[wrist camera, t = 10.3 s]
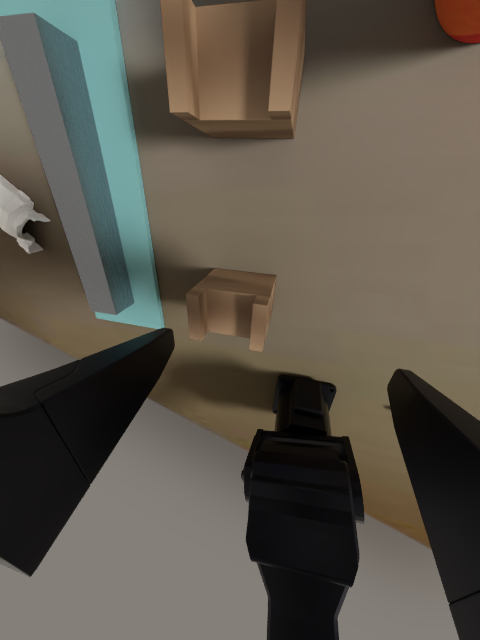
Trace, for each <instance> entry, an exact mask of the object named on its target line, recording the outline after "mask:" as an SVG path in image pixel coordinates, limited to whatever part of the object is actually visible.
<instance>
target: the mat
mask: <svg viewBox="0 0 480 640" xmlns="http://www.w3.org/2000/svg"><path fill="white" fill-rule="evenodd" d="M33 12H34V13H35V14H37V15H38V16H40V17H41V18H43V19H44V20H46V21H47V22H49V23H50V24H52V25H53V26H55V27H56V28H58V29H59V30H61V31H62V32H64V33H65V34H67V35H68V36H70V37H71V38H73V39H74V40H76V41H77V42H78V46H79V51H80V56H81V60H82V65H83V69H84V74H85V78H86V83H87V88H88V92H89V97H90V101H91V106H92V110H93V115H94V120H95V124H96V129H97V133H98V138H99V142H100V147H101V152H102V156H103V161H104V165H105V170H106V174H107V179H108V184H109V188H110V193H111V197H112V202H113V207H114V211H115V216H116V220H117V225H118V229H119V234H120V239H121V243H122V248H123V252H124V257H125V261H126V266H127V271H128V275H129V280H130V284H131V289H132V293H133V298H134V304H132V305H131V306H129V307H128V308H126V309H125V310H123V311H122V312H120V313H119V314H117V315H112V314H106V313H100V312H95V314H96V317H97V318H98V319H104V320H110V321H116V322H121V323H127V324H133V325H138V326H144V327H150V328H155V329H161V328H164V327H165V326H164V320H163V313H162V307H161V300H160V294H159V287H158V281H157V274H156V267H155V261H154V254H153V248H152V241H151V235H150V228H149V221H148V215H147V208H146V202H145V195H144V189H143V182H142V176H141V169H140V162H139V156H138V149H137V143H136V136H135V130H134V123H133V116H132V110H131V103H130V97H129V90H128V84H127V77H126V70H125V64H124V57H123V51H122V44H121V38H120V31H119V25H118V18H117V11H116V5H115V0H0V16H7V15H16V14H24V13H33Z"/></svg>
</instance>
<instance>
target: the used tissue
mask: <svg viewBox="0 0 480 640" xmlns="http://www.w3.org/2000/svg"><path fill="white" fill-rule="evenodd" d="M33 207H34V203H33V202H32V201H31V200H30V198H29V197H28V196H27V195H26V194H25V193H23V192H22V191H21V190H18V189H17V188H16V187H14V186H13V185H12V184H11V183H10V182H8V181H7V180H6V179H5V178H4V177H2V176H1V175H0V228H1V229H2V230H3V231H5V232H6V233H7V234H9V235H11V236H13V237H14V238H17V242H18V243H19V245H20V246H21V247H22V248H23V249H24V250H25V251H26V252H27V253H28V254H31V253H36V252H38V251H42V250H44V249H43V248H42V247H41V246H39V245H38V244H37V243H35V238H33V237H32V236H31V235H30V234H28V233H25V234H22V229H23V227H24V225H25V223H26V222H27V221H28V220H30V219H31V220H32V221H34V222H35V221H43V222H48V221H50V220H49V219H48V218H47V217H45V216H44V215H43V214H41V213H37V212H36V211H35V210H33Z"/></svg>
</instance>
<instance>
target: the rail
mask: <svg viewBox="0 0 480 640" xmlns="http://www.w3.org/2000/svg"><path fill="white" fill-rule="evenodd" d="M0 39H1V42H2V45H3V48H4V51H5V54H6V57H7V60H8V63H9V66H10V69H11V72H12V75H13V78H14V81H15V84H16V87H17V90H18V93H19V96H20V99H21V102H22V105H23V108H24V111H25V114H26V117H27V120H28V123H29V126H30V129H31V132H32V135H33V138H34V141H35V144H36V147H37V150H38V153H39V156H40V159H41V162H42V165H43V168H44V171H45V174H46V177H47V180H48V183H49V186H50V189H51V192H52V195H53V198H54V201H55V204H56V207H57V210H58V213H59V216H60V219H61V222H62V225H63V228H64V231H65V234H66V237H67V240H68V243H69V246H70V249H71V252H72V255H73V258H74V261H75V264H76V267H77V270H78V273H79V276H80V279H81V282H82V285H83V288H84V291H85V294H86V297H87V300H88V303H89V306H90V309H91V311H94V312H100V313H106V314H112V315H117V314H119V313H120V312H122V311H123V310H125V309H126V308H128V307H129V306H131V305H132V304H134V298H133V293H132V289H131V284H130V280H129V275H128V271H127V266H126V261H125V257H124V252H123V248H122V243H121V239H120V234H119V229H118V225H117V220H116V216H115V211H114V207H113V202H112V197H111V193H110V188H109V184H108V179H107V174H106V170H105V165H104V161H103V156H102V152H101V147H100V142H99V138H98V133H97V129H96V124H95V120H94V115H93V110H92V106H91V101H90V97H89V92H88V88H87V83H86V78H85V74H84V69H83V65H82V60H81V56H80V51H79V46H78V42H77V41H76V40H74V39H73V38H71V37H70V36H68V35H67V34H65V33H64V32H62V31H61V30H59V29H58V28H56V27H55V26H53V25H52V24H50V23H49V22H47V21H46V20H44V19H43V18H41V17H40V16H38V15H37V14H35V13H34V12H33V13H24V14H16V15H7V16H0Z"/></svg>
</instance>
